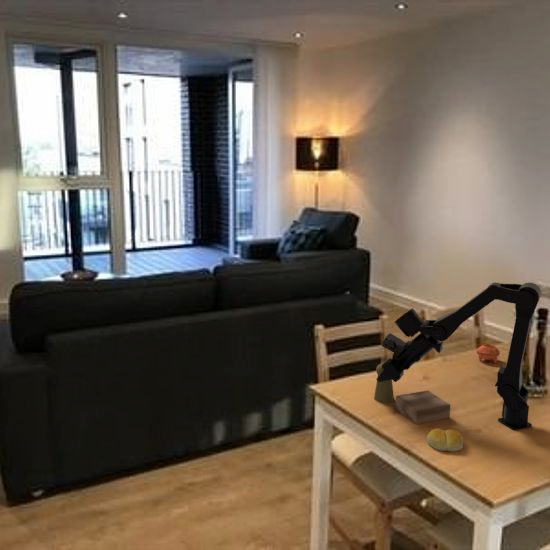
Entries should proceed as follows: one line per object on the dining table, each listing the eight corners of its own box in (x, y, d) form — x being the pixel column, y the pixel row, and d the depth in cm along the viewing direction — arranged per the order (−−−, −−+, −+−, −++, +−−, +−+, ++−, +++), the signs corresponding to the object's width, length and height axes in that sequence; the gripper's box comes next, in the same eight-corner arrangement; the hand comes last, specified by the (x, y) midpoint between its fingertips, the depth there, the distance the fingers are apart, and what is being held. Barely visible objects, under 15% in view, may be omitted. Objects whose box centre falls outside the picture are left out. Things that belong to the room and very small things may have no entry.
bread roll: (427, 436, 159) (427, 422, 158) (462, 439, 156) (463, 425, 156) (426, 450, 151) (427, 436, 150) (463, 455, 149) (464, 440, 148)
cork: (374, 394, 186) (375, 360, 184) (394, 395, 185) (395, 361, 182) (373, 401, 180) (374, 367, 178) (393, 403, 179) (395, 368, 177)
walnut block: (449, 417, 169) (450, 404, 168) (416, 424, 165) (417, 410, 164) (427, 402, 179) (427, 390, 178) (395, 408, 175) (395, 395, 174)
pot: (485, 365, 209) (483, 346, 209) (473, 363, 217) (471, 344, 217) (505, 362, 211) (503, 343, 211) (492, 360, 218) (490, 342, 219)
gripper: (407, 319, 184) (372, 348, 191) (389, 335, 168) (352, 366, 175) (432, 347, 182) (395, 375, 189) (416, 366, 166) (377, 396, 173)
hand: (380, 377), depth 182 cm, fingers closed on cork, 5 cm apart
